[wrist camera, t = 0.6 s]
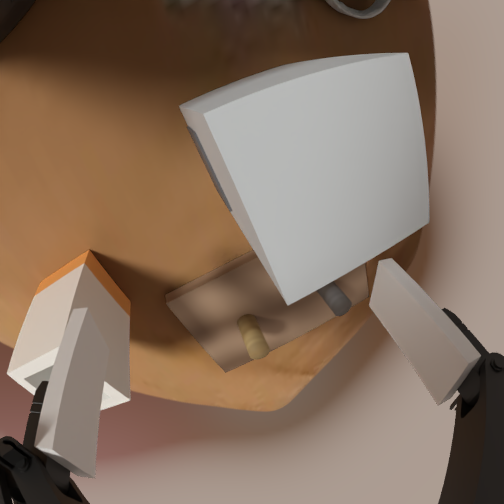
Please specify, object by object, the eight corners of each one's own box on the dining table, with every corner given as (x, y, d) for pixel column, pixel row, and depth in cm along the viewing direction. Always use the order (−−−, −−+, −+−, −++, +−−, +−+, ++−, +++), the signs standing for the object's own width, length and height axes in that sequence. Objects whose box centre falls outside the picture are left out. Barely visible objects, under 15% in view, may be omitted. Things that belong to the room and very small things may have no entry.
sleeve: (40, 281, 20) (6, 373, 12) (89, 249, 20) (61, 345, 12) (82, 327, 23) (70, 419, 15) (130, 301, 23) (130, 400, 15)
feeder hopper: (176, 106, 17) (198, 116, 7) (284, 64, 17) (407, 52, 8) (222, 203, 22) (284, 307, 12) (316, 159, 22) (429, 222, 12)
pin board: (165, 294, 24) (169, 338, 20) (348, 201, 25) (384, 226, 21) (223, 364, 31) (235, 402, 27) (363, 290, 32) (389, 318, 28)
